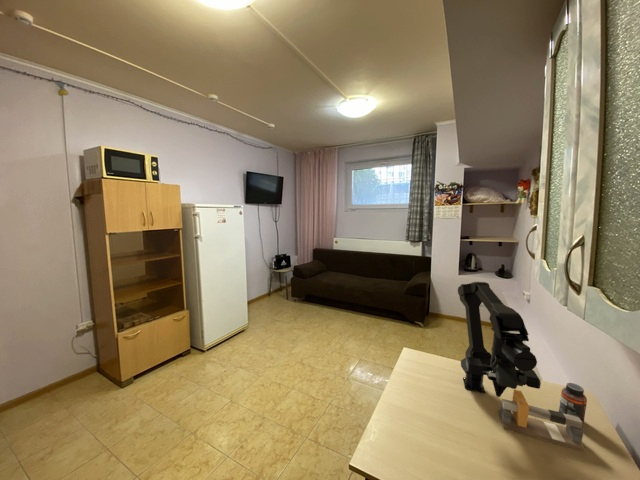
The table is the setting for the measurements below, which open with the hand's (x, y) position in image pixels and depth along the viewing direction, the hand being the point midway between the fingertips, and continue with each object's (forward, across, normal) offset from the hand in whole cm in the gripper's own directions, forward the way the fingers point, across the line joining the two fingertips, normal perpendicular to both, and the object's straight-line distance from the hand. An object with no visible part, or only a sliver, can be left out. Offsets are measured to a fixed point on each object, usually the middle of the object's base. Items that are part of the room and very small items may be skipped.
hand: (497, 395), depth 83 cm
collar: (+6, +6, 0) cm, 8 cm away
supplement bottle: (+8, +23, +10) cm, 26 cm away
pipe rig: (+8, +11, 0) cm, 14 cm away
